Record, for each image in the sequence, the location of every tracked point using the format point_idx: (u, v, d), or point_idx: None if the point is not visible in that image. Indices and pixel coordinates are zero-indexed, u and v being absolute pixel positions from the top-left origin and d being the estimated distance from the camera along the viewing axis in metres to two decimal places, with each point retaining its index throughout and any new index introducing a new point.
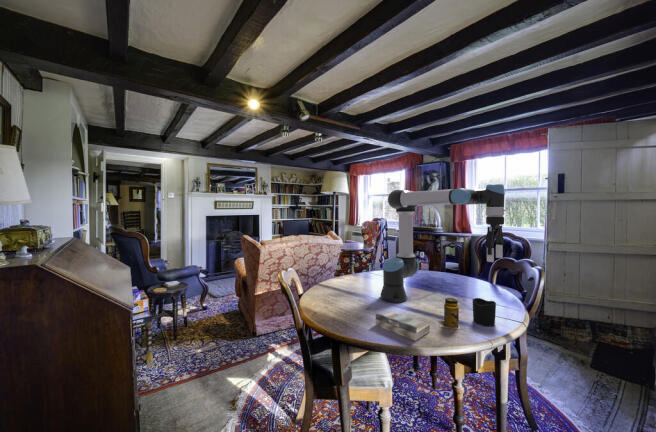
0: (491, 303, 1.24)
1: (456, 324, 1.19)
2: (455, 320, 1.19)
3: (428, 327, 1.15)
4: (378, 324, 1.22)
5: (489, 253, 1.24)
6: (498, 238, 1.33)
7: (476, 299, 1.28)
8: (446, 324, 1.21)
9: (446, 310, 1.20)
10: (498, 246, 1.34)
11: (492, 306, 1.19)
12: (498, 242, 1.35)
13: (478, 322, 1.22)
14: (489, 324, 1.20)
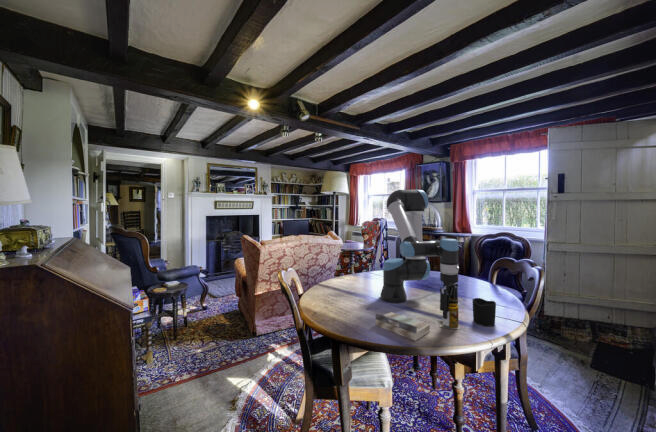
0: (491, 303, 1.24)
1: (456, 324, 1.19)
2: (455, 320, 1.19)
3: (428, 327, 1.15)
4: (378, 324, 1.22)
5: (444, 317, 1.19)
6: None
7: (476, 299, 1.28)
8: None
9: None
10: None
11: (492, 306, 1.19)
12: None
13: (478, 322, 1.22)
14: (489, 324, 1.20)
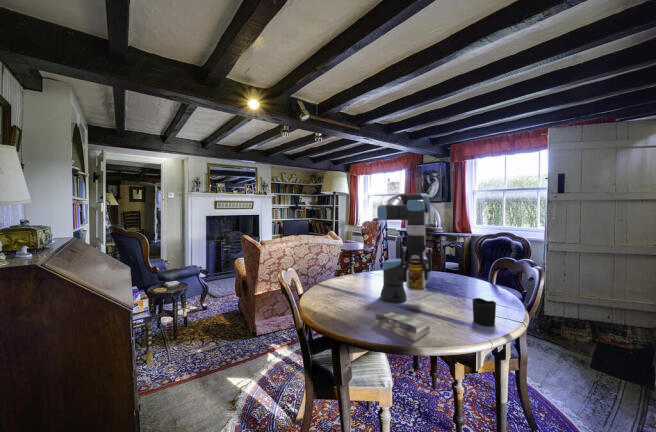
0: (491, 303, 1.24)
1: (411, 285, 1.17)
2: (410, 281, 1.18)
3: (428, 327, 1.15)
4: (378, 324, 1.22)
5: None
6: None
7: (476, 299, 1.28)
8: None
9: None
10: None
11: (492, 306, 1.19)
12: None
13: (478, 322, 1.22)
14: (489, 324, 1.20)
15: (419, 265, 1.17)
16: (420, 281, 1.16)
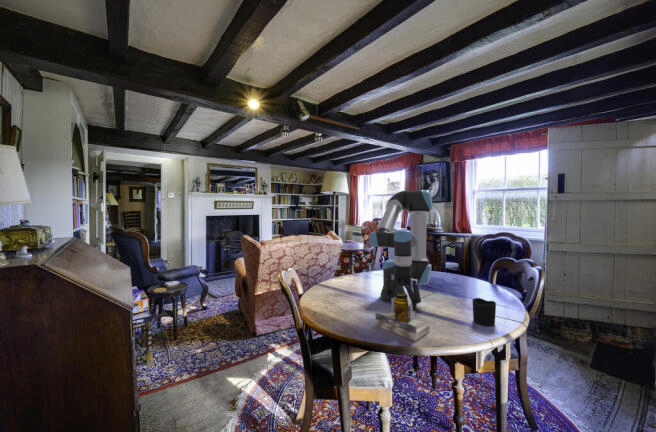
0: (491, 303, 1.24)
1: (395, 318, 1.19)
2: (395, 313, 1.19)
3: (428, 327, 1.15)
4: (378, 324, 1.22)
5: None
6: None
7: (476, 299, 1.28)
8: None
9: None
10: None
11: (492, 306, 1.19)
12: (414, 300, 1.16)
13: (478, 322, 1.22)
14: (489, 324, 1.20)
15: (403, 299, 1.17)
16: (404, 315, 1.17)
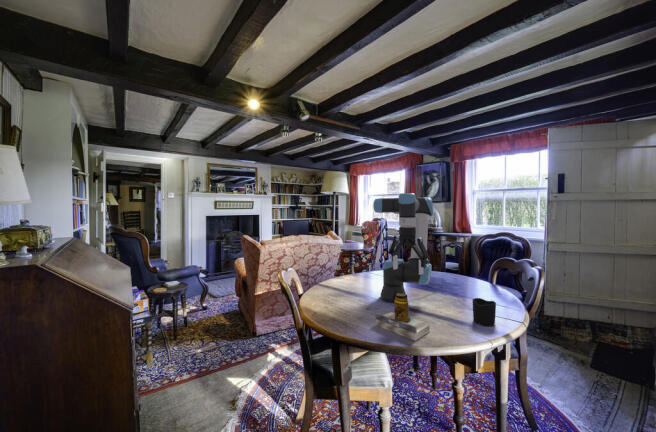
0: (491, 303, 1.24)
1: (395, 318, 1.19)
2: (395, 313, 1.19)
3: (428, 327, 1.15)
4: (378, 324, 1.22)
5: None
6: None
7: (476, 299, 1.28)
8: None
9: None
10: None
11: (492, 306, 1.19)
12: (422, 257, 1.20)
13: (478, 322, 1.22)
14: (489, 324, 1.20)
15: (403, 299, 1.17)
16: (404, 315, 1.17)
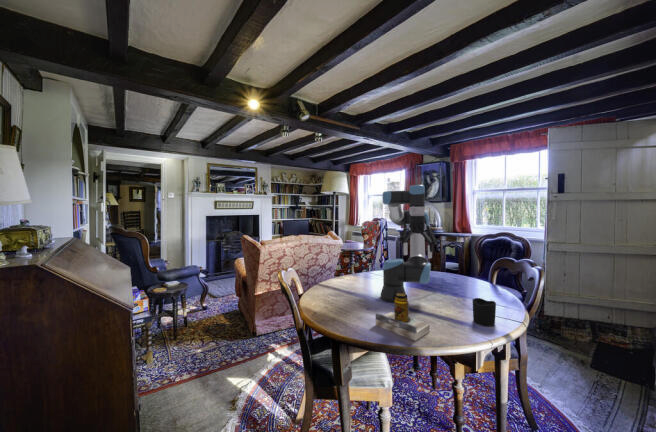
0: (491, 303, 1.24)
1: (395, 318, 1.19)
2: (395, 313, 1.19)
3: (428, 327, 1.15)
4: (378, 324, 1.22)
5: None
6: None
7: (476, 299, 1.28)
8: None
9: None
10: None
11: (492, 306, 1.19)
12: (431, 242, 1.32)
13: (478, 322, 1.22)
14: (489, 324, 1.20)
15: (403, 299, 1.17)
16: (404, 315, 1.17)
